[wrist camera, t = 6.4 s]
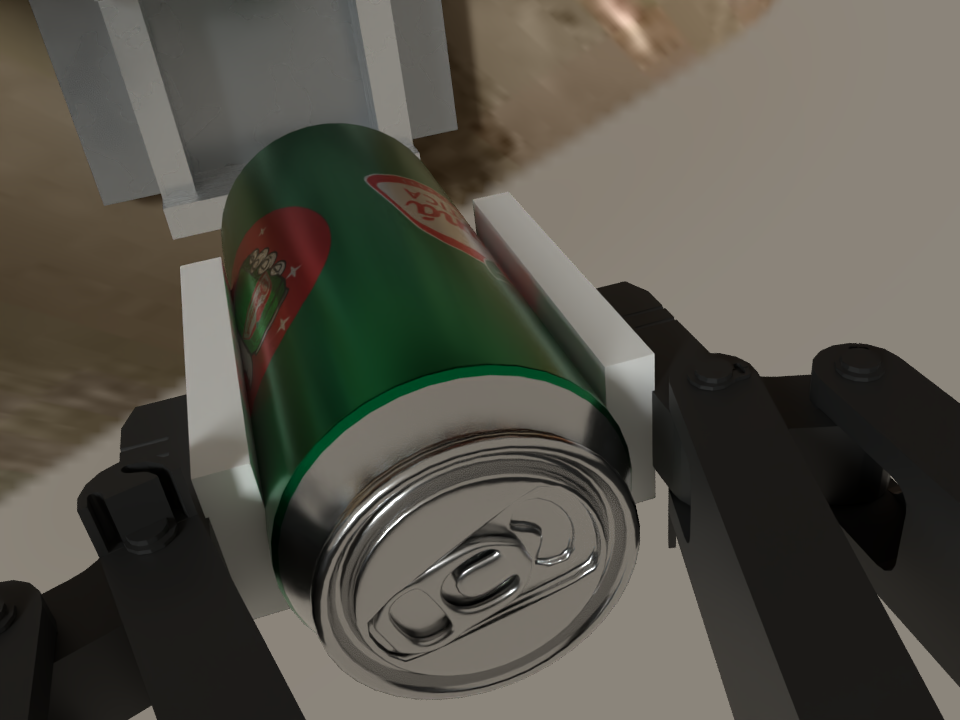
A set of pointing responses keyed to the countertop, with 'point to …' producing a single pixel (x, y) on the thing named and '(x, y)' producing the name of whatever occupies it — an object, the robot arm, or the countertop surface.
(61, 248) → the countertop surface
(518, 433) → the soda can
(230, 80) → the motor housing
